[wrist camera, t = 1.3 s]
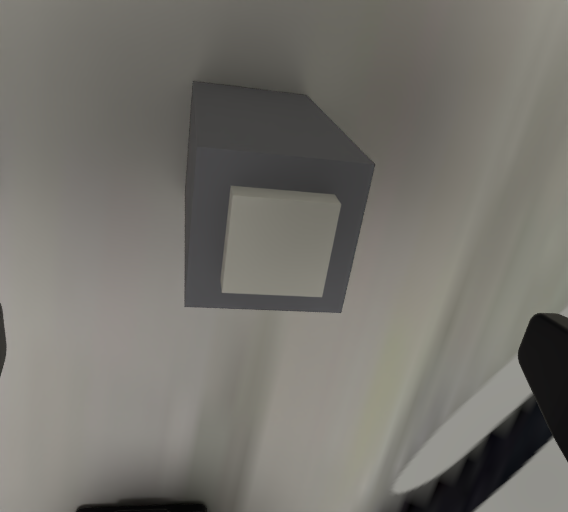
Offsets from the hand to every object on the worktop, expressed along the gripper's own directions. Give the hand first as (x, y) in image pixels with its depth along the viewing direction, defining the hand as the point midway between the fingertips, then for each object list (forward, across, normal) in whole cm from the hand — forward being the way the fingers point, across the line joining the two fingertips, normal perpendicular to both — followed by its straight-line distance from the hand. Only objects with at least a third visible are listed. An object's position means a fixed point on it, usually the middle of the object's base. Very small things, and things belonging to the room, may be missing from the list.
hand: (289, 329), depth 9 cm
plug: (+12, 0, 0) cm, 12 cm away
